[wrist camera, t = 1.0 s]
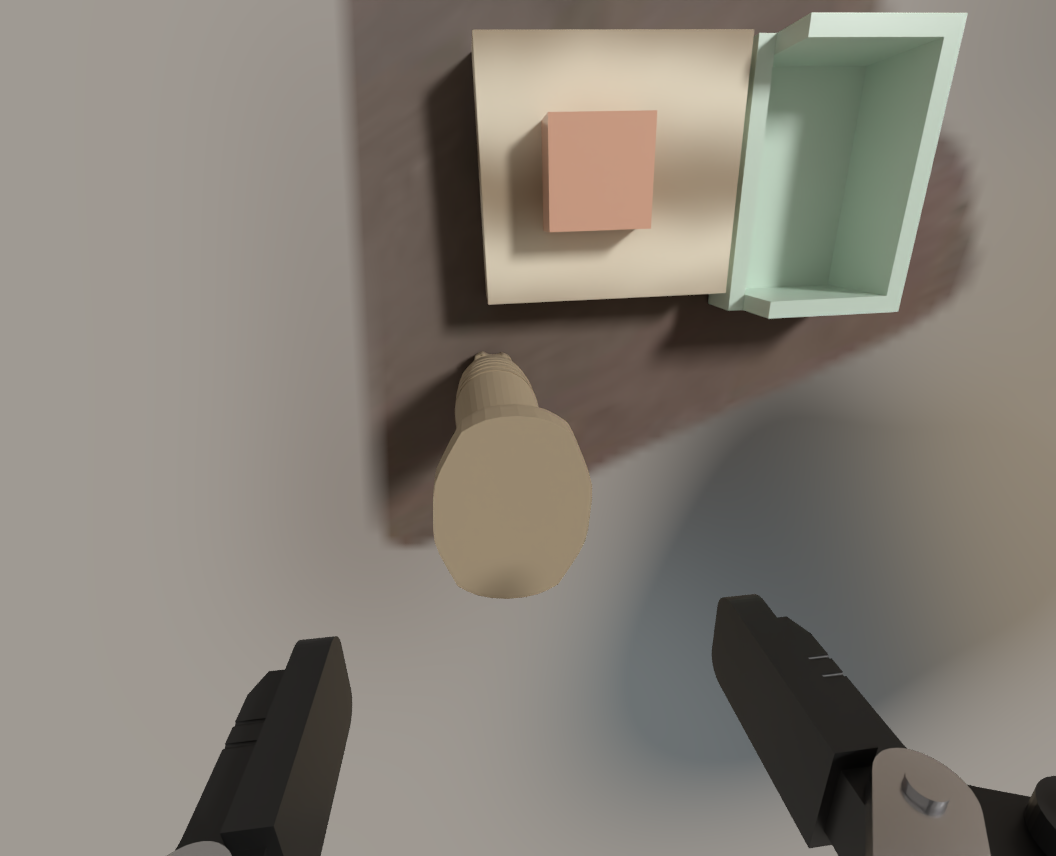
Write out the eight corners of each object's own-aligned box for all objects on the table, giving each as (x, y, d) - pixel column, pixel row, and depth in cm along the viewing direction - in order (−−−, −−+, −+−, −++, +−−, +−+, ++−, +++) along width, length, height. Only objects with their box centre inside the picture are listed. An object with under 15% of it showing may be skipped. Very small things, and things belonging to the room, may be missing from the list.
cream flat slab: (471, 51, 24) (472, 29, 21) (722, 49, 25) (754, 29, 22) (486, 296, 28) (488, 304, 25) (700, 285, 29) (725, 293, 26)
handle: (447, 427, 31) (433, 600, 17) (448, 317, 28) (433, 413, 15) (529, 429, 31) (579, 597, 18) (537, 321, 29) (602, 418, 15)
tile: (541, 120, 23) (547, 111, 21) (642, 118, 23) (657, 110, 21) (543, 231, 24) (549, 232, 23) (637, 227, 25) (650, 228, 23)
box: (732, 49, 25) (792, 12, 21) (878, 49, 26) (968, 12, 21) (707, 303, 30) (752, 319, 25) (832, 297, 30) (897, 311, 26)
